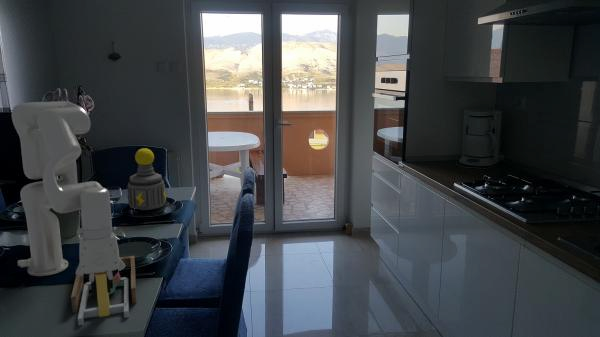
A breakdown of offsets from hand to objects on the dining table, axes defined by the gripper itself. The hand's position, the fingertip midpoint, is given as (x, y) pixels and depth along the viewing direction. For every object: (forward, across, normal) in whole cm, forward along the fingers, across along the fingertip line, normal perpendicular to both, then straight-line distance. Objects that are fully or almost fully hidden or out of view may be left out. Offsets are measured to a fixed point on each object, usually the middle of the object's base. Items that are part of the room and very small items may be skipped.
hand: (102, 291), depth 131 cm
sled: (+7, 0, +7) cm, 10 cm away
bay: (+7, 0, +16) cm, 18 cm away
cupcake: (+7, 0, +14) cm, 16 cm away
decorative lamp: (+8, +16, +106) cm, 108 cm away
